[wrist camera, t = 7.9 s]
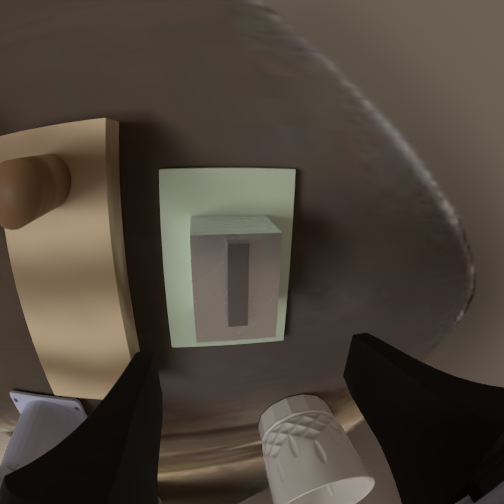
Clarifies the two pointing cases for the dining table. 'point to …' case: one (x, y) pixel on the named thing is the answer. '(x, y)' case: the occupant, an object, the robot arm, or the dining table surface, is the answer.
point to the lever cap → (235, 276)
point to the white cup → (310, 455)
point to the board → (214, 204)
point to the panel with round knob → (70, 251)
